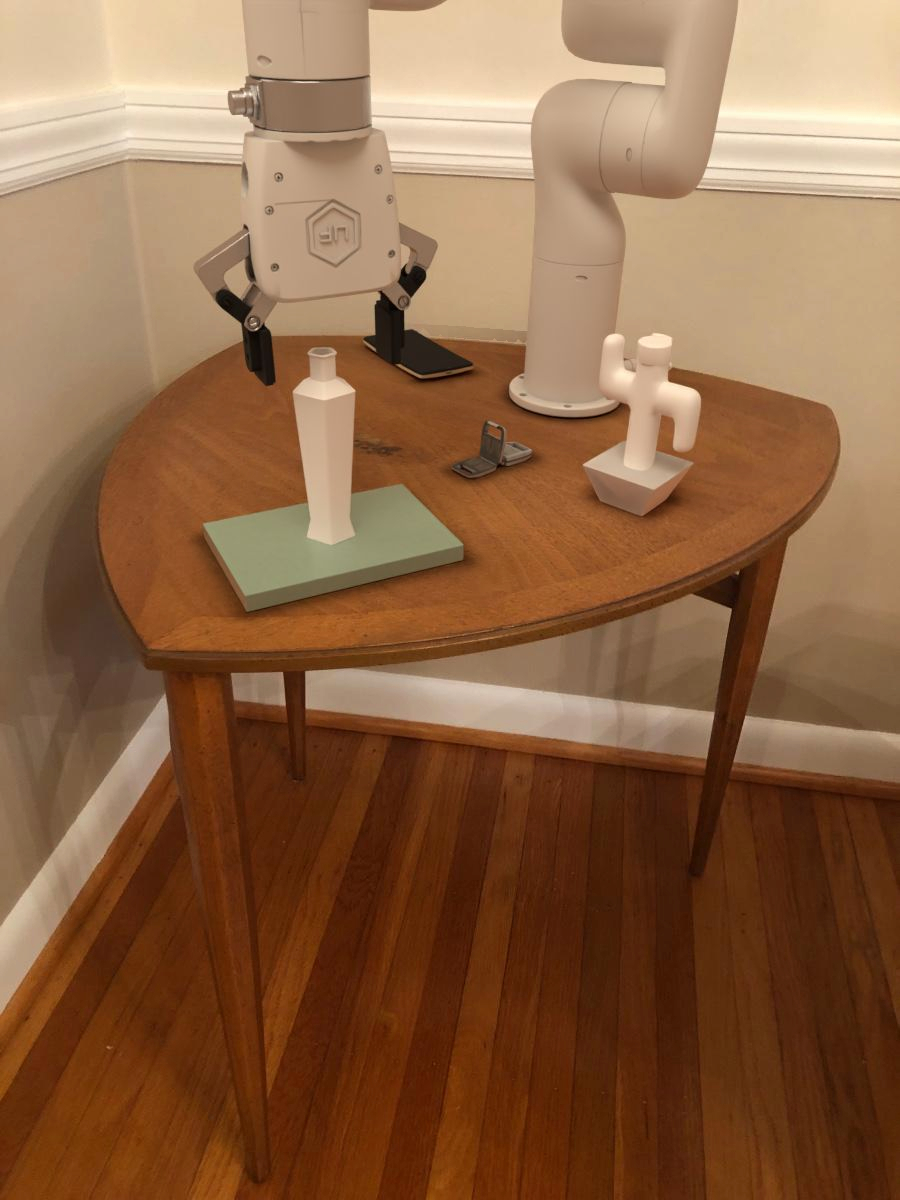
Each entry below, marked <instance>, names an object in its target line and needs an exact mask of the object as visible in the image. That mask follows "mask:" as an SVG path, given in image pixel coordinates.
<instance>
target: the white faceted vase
mask: <svg viewBox="0 0 900 1200" xmlns="http://www.w3.org/2000/svg"><path fill="white" fill-rule="evenodd" d="M306 355H307V356H308V359H309V360H308V362H309V376H308V377H306V378H304V379H302V380H301V382H300V383H299V384H298V385H297V386H296V387H295V388H294V389H293V390H292V393H291V394H292V399H293V405H294V412H295V420H296V428H297V434H298V441H299V447H300V449H299V450H300V455H301V462H302V463H301V464H302V469H303V477H304V483H305V490H306V497H307V503H308V505H309V512H310V524H309V529H308V534H307V538H310V539H313V540H316V541H319V542H322V543H325V544H329V545H334V544H336V543H339V542H341V541H344V540H346V539H349V538H351V537H354V536H355V532H354V529H353V526H352V522H351V519H350V506H351V494H352V479H353V458H354V457H353V456H354V433H355V409H356V407H355V406H356V390H355V388H354V387H353V386H352V385H350V383H348V382H347V381H346V380H345V378H342V377H340V376H338V375H337V365H336V364H337V362H336V355H338V351H337V350H335V349H334V348H333V347H329V346H325V347H324V346H321V347H319V346H317V347H315V346H314V347H311V348H310V349H309V350H308V351H307V352H306Z"/></svg>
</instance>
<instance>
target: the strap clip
mask: <svg viewBox="0 0 900 1200" xmlns="http://www.w3.org/2000/svg"><path fill="white" fill-rule="evenodd" d="M490 426H491V427H493V428H495V429H497V430H499V431H500V437H497V436H495V435H493V434H491V433H489V428H490ZM480 437H481V438H480V446H479V455H480V456H474V457H471V458H467V459H464V460H461V461H458V462H456V463H454V464H452V465H451V470H452V471H455V472H457V473H459V474H461V475H462V476H463V477H466V478H470V479H474V478H480V477H483V476H485V475H488V474H490V473H493V472H495V471H496V470H497V467H498V466H499V465H501V466H504V467H510V466H513V465H517V464H521V463H523V462H526V461H528V460H529V459H530V458H531V457H532V456H533V449H531V448H530V447H528V446H526V445H524V444H521V443H519V442H516V441H507V431H506V428H505V427H504V426H502V425H499V424H498V423H495V422H494V421H491V420H488V419H487V420H485V421H484V423H483V426H482V429H481V436H480ZM463 469H465V470H467V471H469V472H467V471H465V470H463ZM470 472H471V473H470Z"/></svg>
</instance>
